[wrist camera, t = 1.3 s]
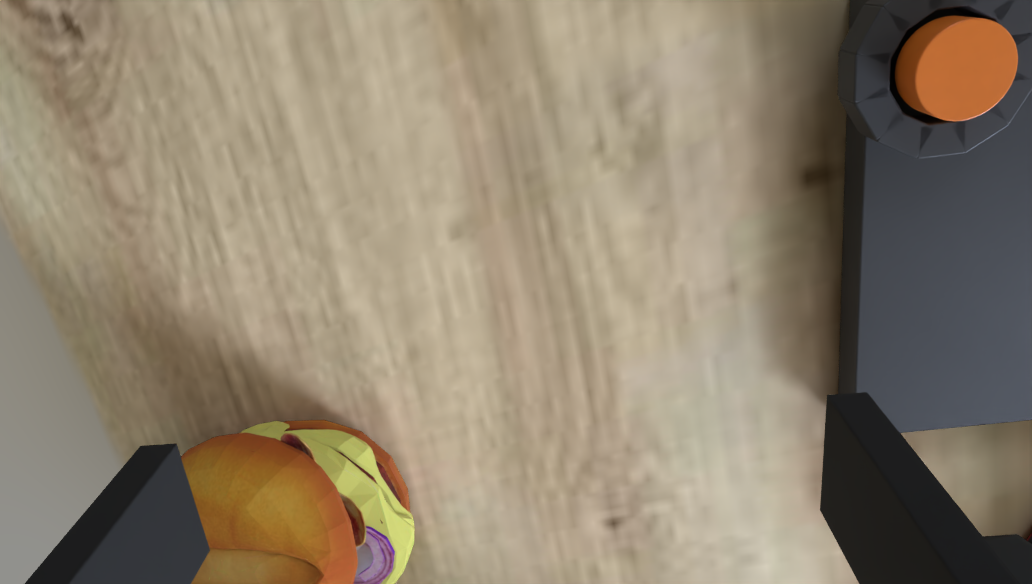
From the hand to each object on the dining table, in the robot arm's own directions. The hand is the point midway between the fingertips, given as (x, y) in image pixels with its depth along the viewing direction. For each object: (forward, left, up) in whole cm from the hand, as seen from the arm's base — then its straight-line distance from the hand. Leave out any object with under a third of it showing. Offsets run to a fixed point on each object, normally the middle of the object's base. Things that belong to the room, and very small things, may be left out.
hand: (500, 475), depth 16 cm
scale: (+2, +20, -17) cm, 27 cm away
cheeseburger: (+12, -12, -18) cm, 24 cm away
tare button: (-5, +15, -14) cm, 21 cm away
